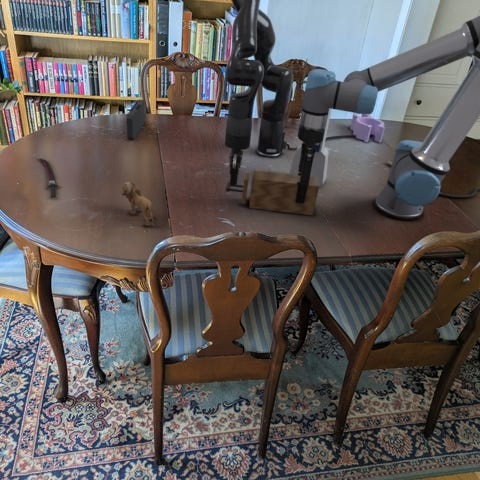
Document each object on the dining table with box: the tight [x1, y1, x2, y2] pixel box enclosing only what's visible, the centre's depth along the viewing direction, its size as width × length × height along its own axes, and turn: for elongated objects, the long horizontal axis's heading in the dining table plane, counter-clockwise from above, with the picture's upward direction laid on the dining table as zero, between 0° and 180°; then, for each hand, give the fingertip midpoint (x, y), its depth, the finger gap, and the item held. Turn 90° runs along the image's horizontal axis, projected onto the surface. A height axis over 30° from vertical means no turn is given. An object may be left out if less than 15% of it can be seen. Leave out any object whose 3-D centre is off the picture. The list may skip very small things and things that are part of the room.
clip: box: [349, 112, 386, 143], centre depth 214 cm, size 20×12×7 cm, turn 11°
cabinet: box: [249, 169, 320, 216], centre depth 146 cm, size 20×6×10 cm, turn 85°
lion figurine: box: [119, 181, 159, 227], centre depth 134 cm, size 15×5×9 cm, turn 50°
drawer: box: [225, 172, 253, 205], centre depth 147 cm, size 24×5×8 cm, turn 85°
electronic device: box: [288, 109, 333, 188], centre depth 159 cm, size 12×8×30 cm, turn 71°
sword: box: [40, 158, 59, 198], centre depth 151 cm, size 31×3×1 cm, turn 26°
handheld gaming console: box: [126, 98, 146, 140], centre depth 191 cm, size 23×3×10 cm, turn 178°
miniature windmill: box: [284, 58, 308, 128], centre depth 209 cm, size 9×8×30 cm
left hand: (233, 183), depth 146 cm, fingers closed
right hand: (299, 197), depth 147 cm, fingers closed on cabinet, 6 cm apart
